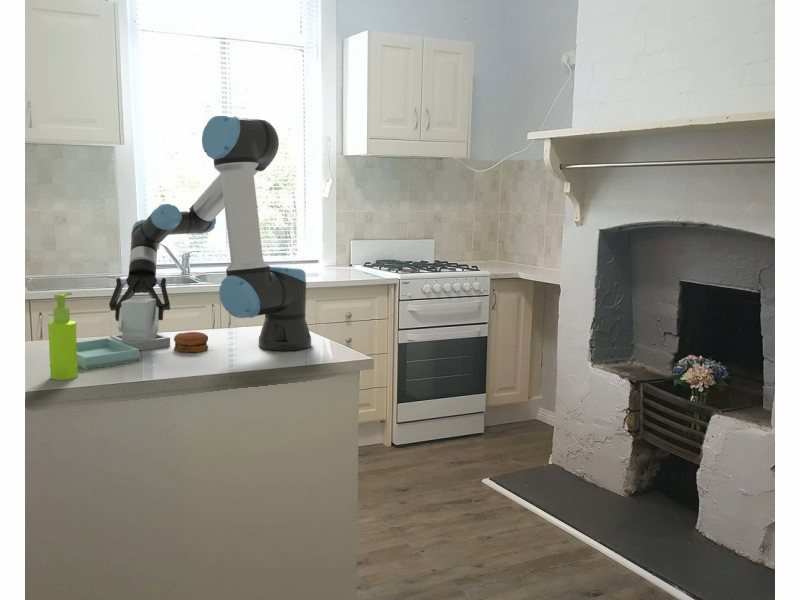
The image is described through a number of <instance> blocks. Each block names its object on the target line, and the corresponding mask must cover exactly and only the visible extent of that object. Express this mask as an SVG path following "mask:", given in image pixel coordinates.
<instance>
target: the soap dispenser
mask: <svg viewBox="0 0 800 600" xmlns="http://www.w3.org/2000/svg"><path fill="white" fill-rule="evenodd" d="M72 294H73V293H72V292H64V291H63V292H62V291H61V292H58V293H56V294H54V295H53V297H54V298H56V305H57V306H55V307H54V308H53V321H50V322H49V321H48V323H47V325H48V327H47V328H48V329H47V330H48V347H49V348H48V349H49V350H48V351H49V352H48V353H49V367H50V368H49V371H50V379H51V380H55V381H67V380H73V379H75V378H78V376H79V371H78V370H79V369H78V368H79V366H78V364H77V342H78V341H77V323H76V321H74V320H71V317H70V315H71V314H70V307H69V306H68V305H66V297H67V296H72Z"/></svg>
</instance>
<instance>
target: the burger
mask: <svg viewBox="0 0 800 600" xmlns="http://www.w3.org/2000/svg"><path fill="white" fill-rule="evenodd" d="M173 341H174V343H175V344H174V347H173V350H174V351H175V352H177V351H178V353H200V352H201V353H202V352H205V350H206V351H208V349H209V346H208V344H207V343H208V341H209V336H208V335H207V333H203V332H201V331H200V332H199V331H188V332H181V333H177V334H175V336H174V337H173Z"/></svg>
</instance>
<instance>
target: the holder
mask: <svg viewBox="0 0 800 600" xmlns="http://www.w3.org/2000/svg"><path fill="white" fill-rule="evenodd" d="M109 338H111V339H114V340H117V341H119V342H122V343H124V344H127V345H129V346H132V347H134V348H137V349H139V350H142V351H146V350H147V351H149V350H154V349H155V348H156V349H160V348H161V347H162V348H167V347H166V346H169V347H171V337H169V336H166V335H163V334H162V333H161V334H160V333H158V332H157V339H151V340H144V341H137V342H129V341H126V340H124V339H123V335H122V333H121V334H114V335H109ZM162 348H161V349H162ZM148 349H149V350H148Z"/></svg>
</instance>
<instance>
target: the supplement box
mask: <svg viewBox="0 0 800 600" xmlns="http://www.w3.org/2000/svg"><path fill="white" fill-rule="evenodd" d="M156 307H157V306H156V299H152V298H145V297H131V298H130V299H128V300H125V301H122V302H121V308H122V332H121V334H122V335H123V339H124V340H126V341H129V342H137V341H144V340H151V339H157V333H158V331H157V332H156V331H155V313H156Z"/></svg>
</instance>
